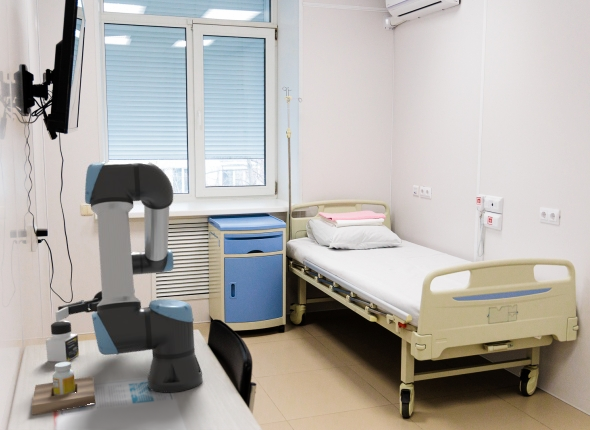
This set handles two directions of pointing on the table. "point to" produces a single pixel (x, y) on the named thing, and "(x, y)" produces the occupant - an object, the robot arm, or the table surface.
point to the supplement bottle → (63, 379)
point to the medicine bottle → (62, 343)
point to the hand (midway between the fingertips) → (80, 316)
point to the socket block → (62, 396)
